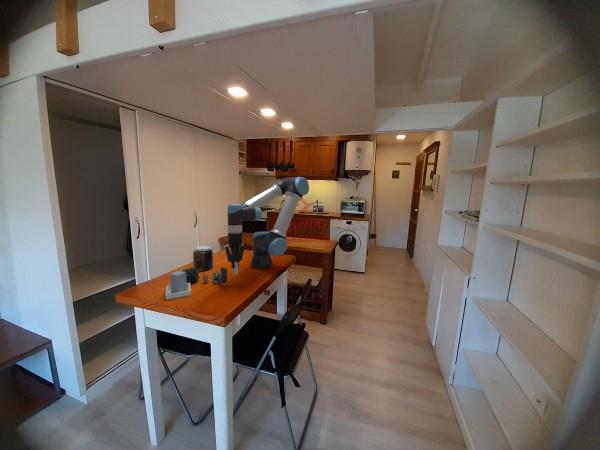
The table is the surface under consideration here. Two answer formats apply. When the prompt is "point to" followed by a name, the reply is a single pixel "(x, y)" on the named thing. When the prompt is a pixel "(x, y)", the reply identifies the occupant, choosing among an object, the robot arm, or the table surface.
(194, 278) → the fruit
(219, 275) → the crank
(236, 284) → the table surface
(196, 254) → the jar
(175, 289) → the block
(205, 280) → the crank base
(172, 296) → the tray
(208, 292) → the table surface
